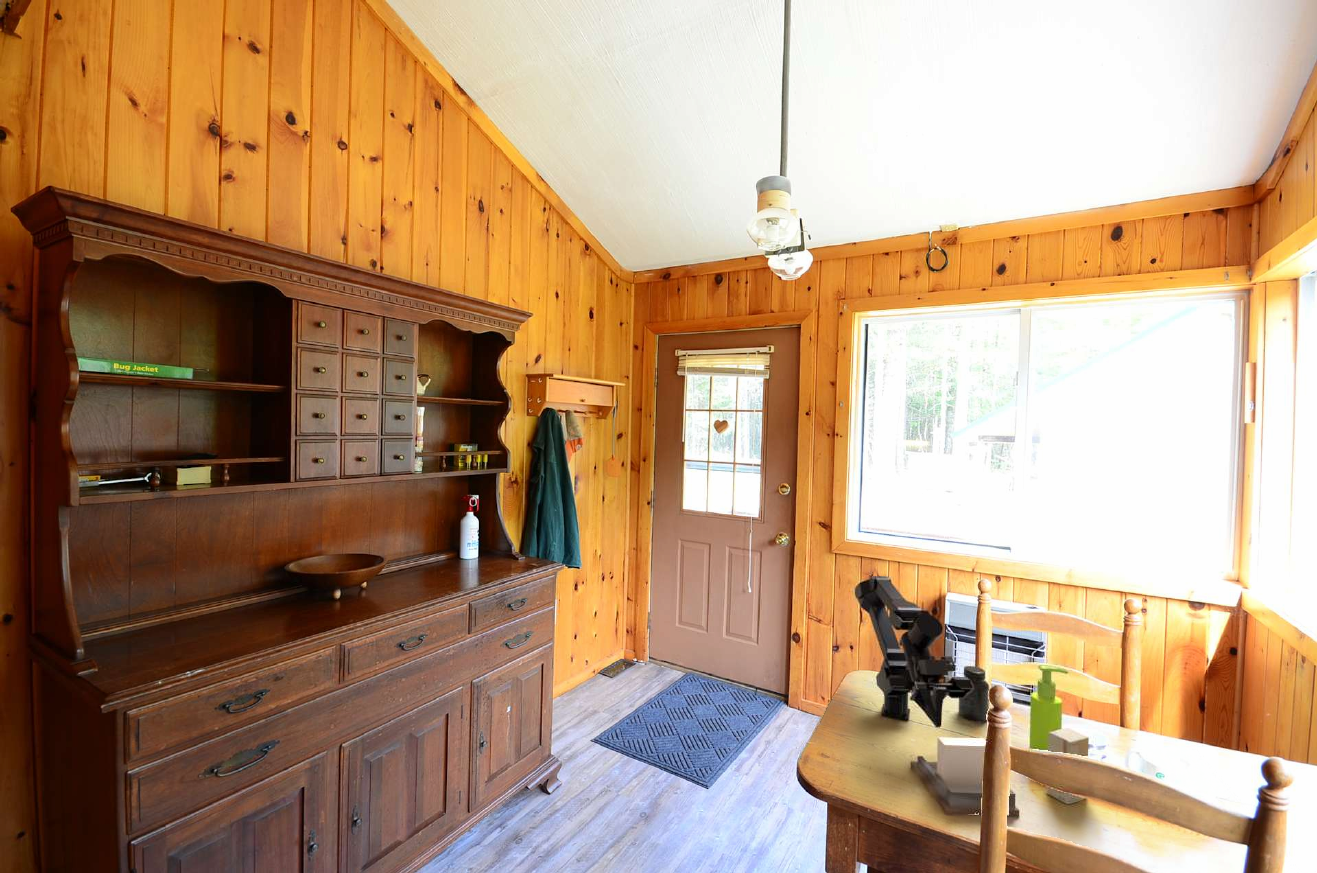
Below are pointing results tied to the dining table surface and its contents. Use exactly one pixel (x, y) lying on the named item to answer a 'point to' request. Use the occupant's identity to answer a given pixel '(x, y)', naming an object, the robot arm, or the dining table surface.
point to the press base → (937, 797)
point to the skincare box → (1071, 744)
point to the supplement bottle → (975, 696)
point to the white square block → (960, 761)
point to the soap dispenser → (1045, 709)
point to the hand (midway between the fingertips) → (938, 726)
